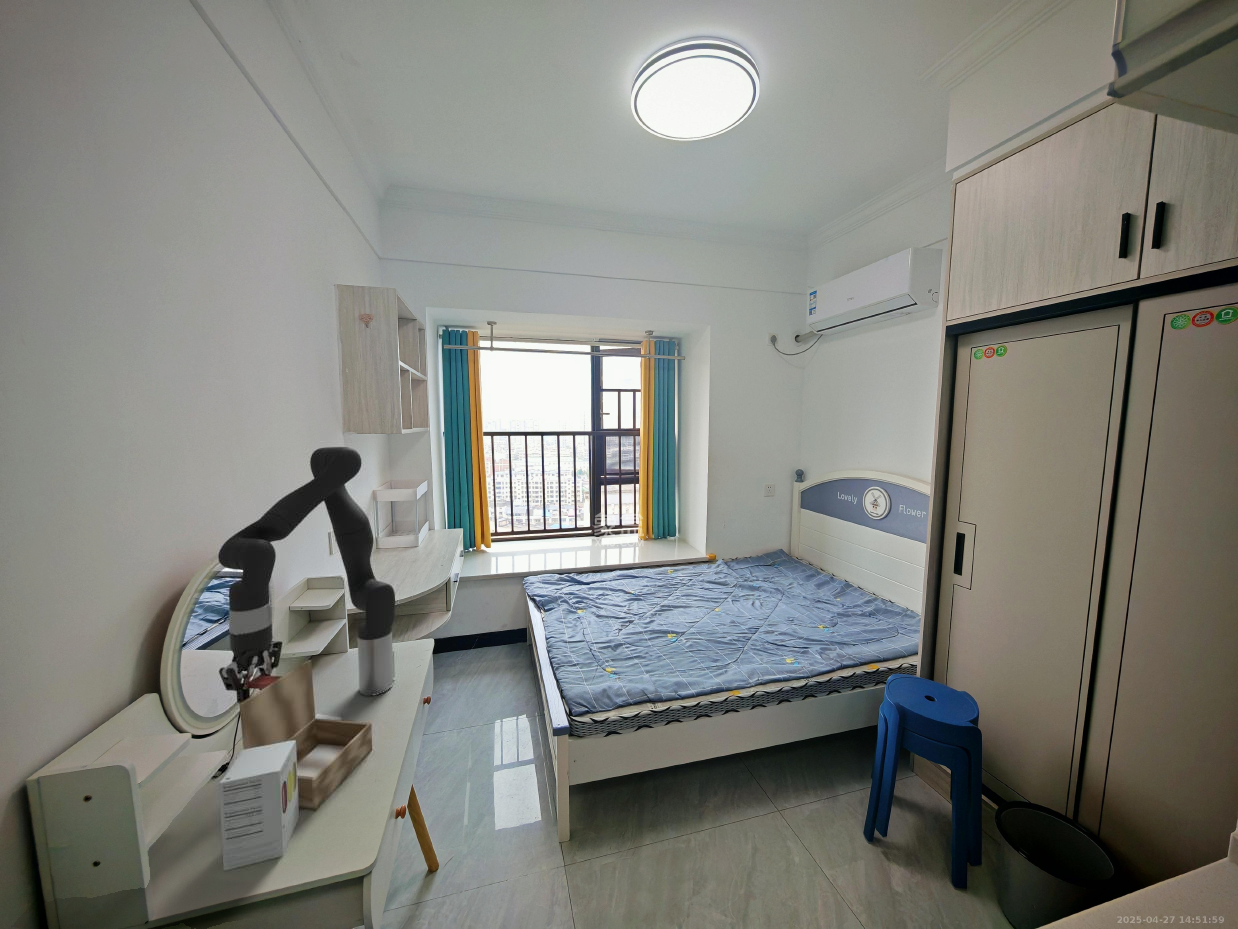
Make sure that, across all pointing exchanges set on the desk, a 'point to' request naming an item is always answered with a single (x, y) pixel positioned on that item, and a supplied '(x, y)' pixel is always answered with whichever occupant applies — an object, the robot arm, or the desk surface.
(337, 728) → the mailer base
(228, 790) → the supplement box
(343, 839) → the desk surface
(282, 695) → the lid
